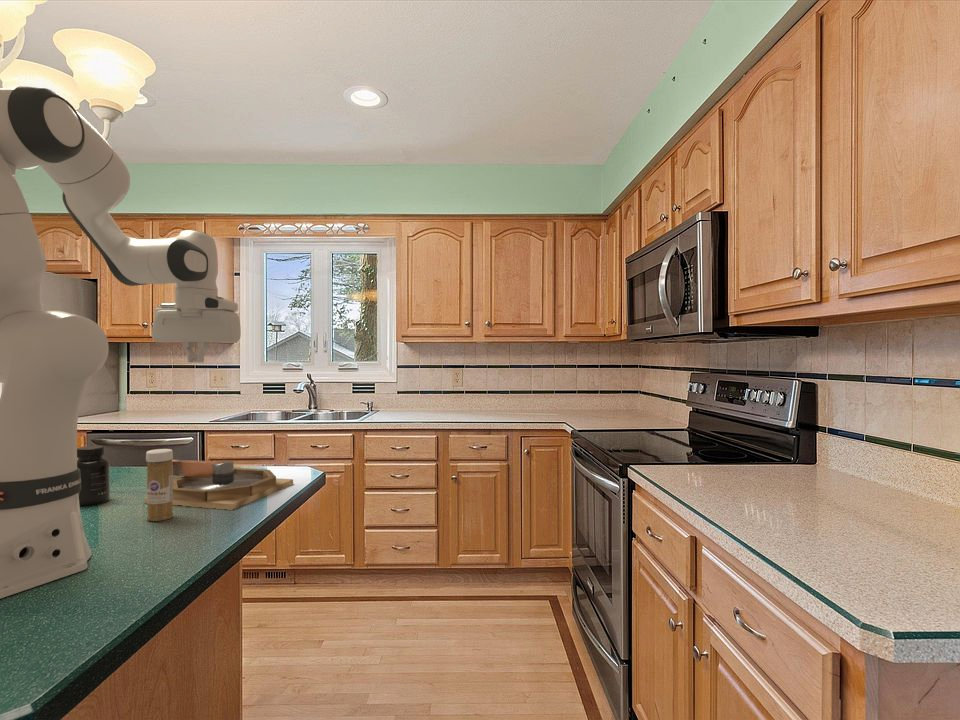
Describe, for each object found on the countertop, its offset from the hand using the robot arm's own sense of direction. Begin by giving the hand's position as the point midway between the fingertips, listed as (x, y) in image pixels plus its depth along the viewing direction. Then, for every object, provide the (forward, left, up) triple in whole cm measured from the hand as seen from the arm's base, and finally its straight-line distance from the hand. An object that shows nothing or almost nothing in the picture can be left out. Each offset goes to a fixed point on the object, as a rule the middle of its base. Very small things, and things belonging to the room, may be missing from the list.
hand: (195, 362), depth 128 cm
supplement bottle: (-13, +16, -30) cm, 37 cm away
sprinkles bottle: (-19, -8, -30) cm, 37 cm away
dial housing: (0, -7, -30) cm, 31 cm away
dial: (0, -5, -29) cm, 29 cm away
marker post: (0, +7, -30) cm, 31 cm away
